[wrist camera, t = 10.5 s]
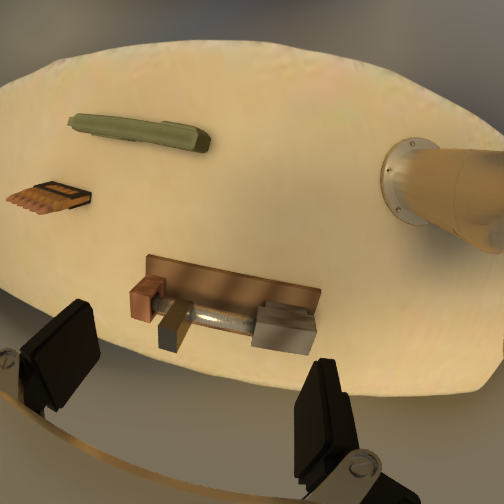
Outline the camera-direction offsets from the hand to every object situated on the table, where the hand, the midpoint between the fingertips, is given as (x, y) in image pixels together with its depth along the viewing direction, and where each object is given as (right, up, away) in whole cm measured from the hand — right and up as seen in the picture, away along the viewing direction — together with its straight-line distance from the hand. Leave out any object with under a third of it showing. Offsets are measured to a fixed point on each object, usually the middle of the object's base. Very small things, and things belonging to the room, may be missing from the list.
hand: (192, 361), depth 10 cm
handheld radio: (-15, +22, +24) cm, 36 cm away
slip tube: (-4, -4, +28) cm, 29 cm away
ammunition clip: (-29, +15, +28) cm, 43 cm away
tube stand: (-1, -3, +31) cm, 32 cm away
